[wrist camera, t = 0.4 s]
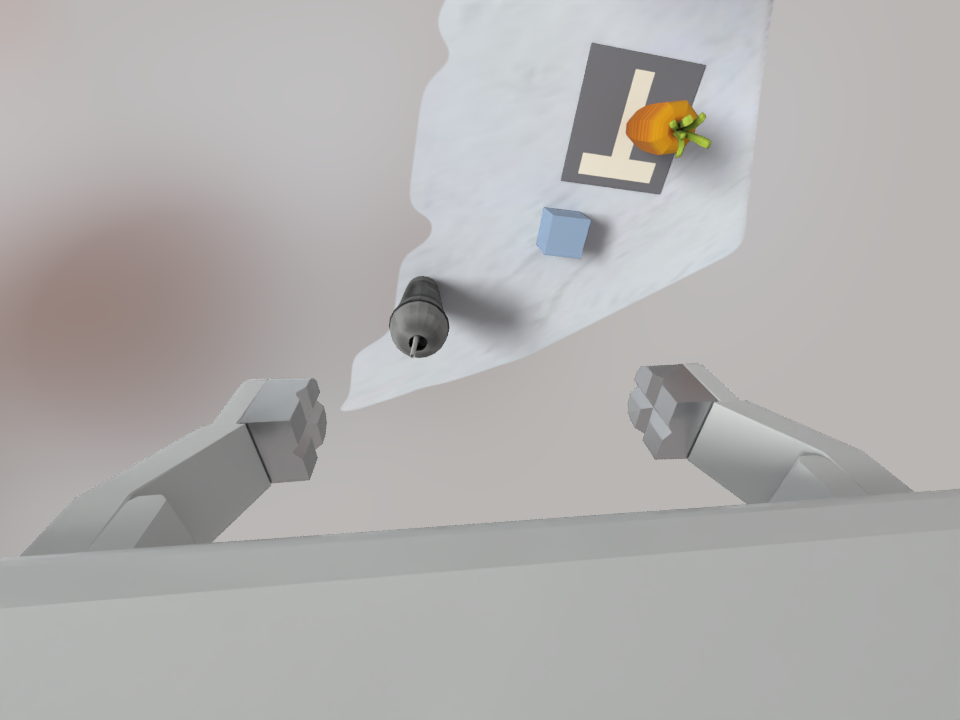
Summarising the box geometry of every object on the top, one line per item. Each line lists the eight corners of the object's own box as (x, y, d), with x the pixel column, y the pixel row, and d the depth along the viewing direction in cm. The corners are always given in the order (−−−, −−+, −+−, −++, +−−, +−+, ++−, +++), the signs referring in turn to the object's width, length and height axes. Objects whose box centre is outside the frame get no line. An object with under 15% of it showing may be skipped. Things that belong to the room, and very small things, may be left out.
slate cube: (543, 207, 51) (553, 215, 47) (578, 211, 52) (591, 219, 48) (535, 244, 54) (544, 254, 50) (569, 247, 54) (580, 258, 50)
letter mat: (591, 43, 42) (592, 42, 42) (704, 65, 44) (705, 65, 44) (560, 180, 49) (561, 180, 49) (659, 193, 51) (659, 194, 51)
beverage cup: (407, 318, 58) (395, 400, 41) (390, 274, 54) (368, 345, 37) (453, 306, 58) (459, 384, 41) (439, 260, 54) (439, 326, 37)
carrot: (653, 135, 47) (731, 142, 35) (616, 157, 48) (678, 171, 36) (643, 92, 45) (723, 83, 32) (604, 116, 46) (667, 116, 33)
